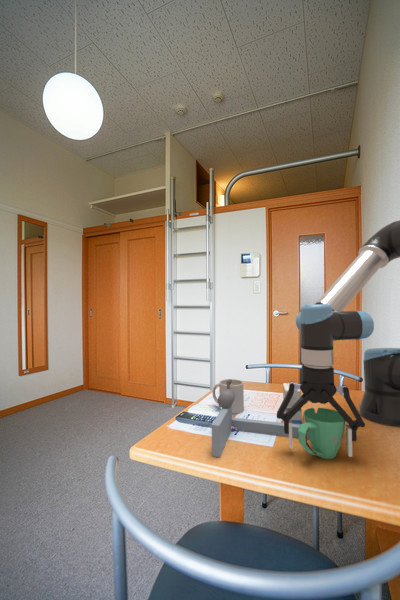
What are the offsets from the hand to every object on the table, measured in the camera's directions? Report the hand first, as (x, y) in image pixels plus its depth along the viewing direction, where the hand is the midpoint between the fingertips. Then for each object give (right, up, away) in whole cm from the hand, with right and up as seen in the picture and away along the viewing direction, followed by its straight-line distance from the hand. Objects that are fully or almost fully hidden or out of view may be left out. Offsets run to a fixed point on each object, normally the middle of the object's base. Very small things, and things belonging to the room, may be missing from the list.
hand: (319, 450), depth 69 cm
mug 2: (0, -2, 0) cm, 2 cm away
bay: (-11, -2, +6) cm, 13 cm away
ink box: (0, -2, +20) cm, 20 cm away
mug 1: (-19, -3, +33) cm, 38 cm away
